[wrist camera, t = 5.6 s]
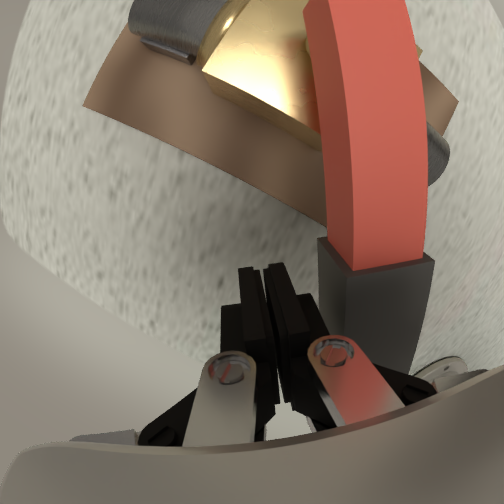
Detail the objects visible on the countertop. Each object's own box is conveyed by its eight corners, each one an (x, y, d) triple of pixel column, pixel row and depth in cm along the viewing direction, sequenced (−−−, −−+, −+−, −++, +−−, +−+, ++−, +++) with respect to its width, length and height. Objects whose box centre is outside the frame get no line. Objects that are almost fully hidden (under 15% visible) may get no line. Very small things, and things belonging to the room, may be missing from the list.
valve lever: (360, 28, 8) (416, -7, 4) (369, 332, 14) (402, 390, 10) (285, 24, 8) (314, -26, 4) (313, 344, 14) (335, 409, 10)
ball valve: (423, 121, 16) (490, 127, 10) (382, 196, 18) (440, 227, 12) (188, -18, 11) (171, -73, 6) (134, 61, 13) (87, 31, 8)
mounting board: (446, 101, 17) (458, 101, 15) (364, 247, 21) (372, 255, 20) (196, -49, 11) (194, -59, 10) (92, 107, 16) (82, 106, 14)
